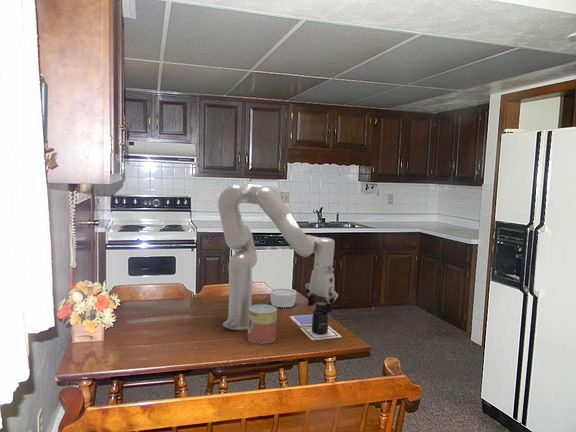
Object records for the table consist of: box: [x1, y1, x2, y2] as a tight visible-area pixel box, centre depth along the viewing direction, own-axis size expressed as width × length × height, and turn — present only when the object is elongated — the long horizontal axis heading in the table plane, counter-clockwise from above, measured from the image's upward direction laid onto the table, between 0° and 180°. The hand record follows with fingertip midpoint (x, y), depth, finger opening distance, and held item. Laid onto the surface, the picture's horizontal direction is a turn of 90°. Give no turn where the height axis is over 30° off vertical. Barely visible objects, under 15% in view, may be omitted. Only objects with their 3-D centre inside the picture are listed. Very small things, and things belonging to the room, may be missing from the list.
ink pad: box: [289, 314, 313, 328], centre depth 191 cm, size 12×12×1 cm
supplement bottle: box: [311, 301, 330, 335], centre depth 178 cm, size 7×7×12 cm
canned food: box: [246, 303, 278, 345], centre depth 170 cm, size 11×11×12 cm
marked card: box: [299, 325, 342, 341], centre depth 178 cm, size 13×13×1 cm
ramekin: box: [269, 287, 298, 309], centre depth 214 cm, size 13×13×7 cm
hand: (319, 308), depth 178 cm, fingers open, 9 cm apart
